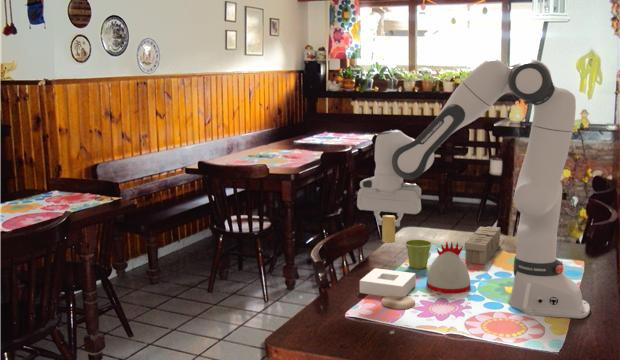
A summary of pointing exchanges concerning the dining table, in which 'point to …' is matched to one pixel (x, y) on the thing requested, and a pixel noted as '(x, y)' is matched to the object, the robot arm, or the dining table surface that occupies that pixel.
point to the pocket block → (387, 283)
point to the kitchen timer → (448, 272)
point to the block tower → (482, 245)
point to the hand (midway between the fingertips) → (388, 225)
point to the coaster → (398, 302)
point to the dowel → (388, 229)
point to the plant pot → (418, 253)
